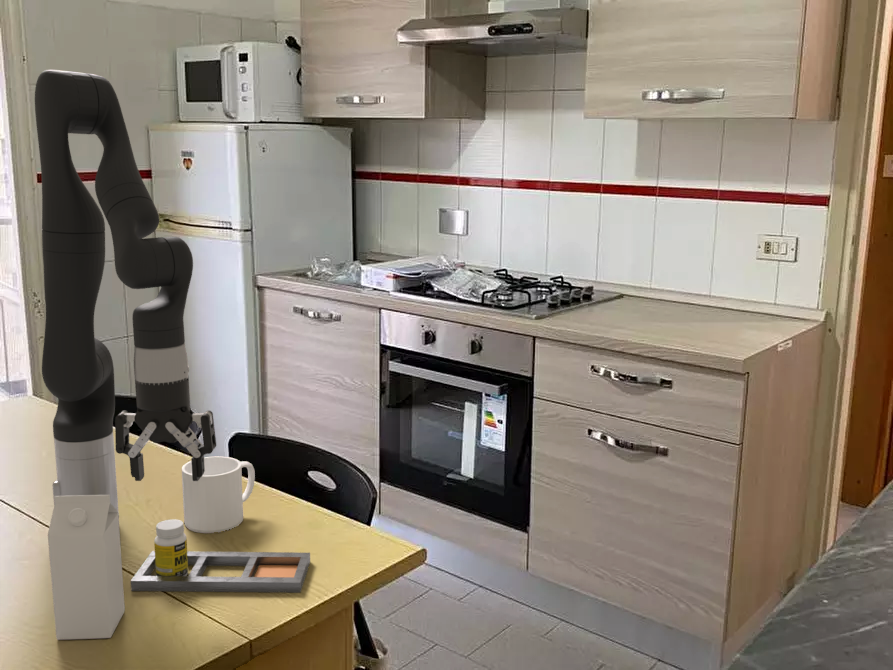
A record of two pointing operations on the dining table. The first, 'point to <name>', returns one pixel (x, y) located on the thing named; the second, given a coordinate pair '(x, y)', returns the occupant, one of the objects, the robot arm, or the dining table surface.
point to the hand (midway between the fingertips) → (168, 479)
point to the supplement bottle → (171, 549)
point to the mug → (215, 494)
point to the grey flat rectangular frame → (226, 584)
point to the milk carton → (85, 567)
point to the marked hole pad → (276, 571)
